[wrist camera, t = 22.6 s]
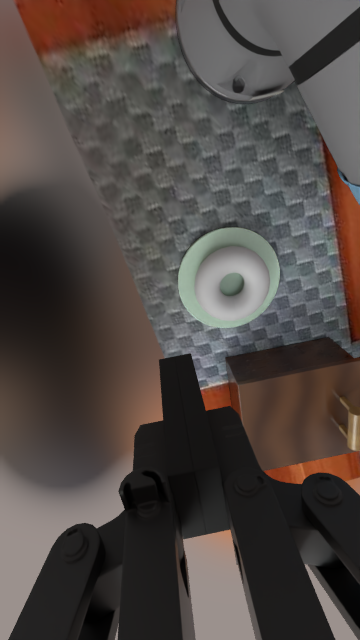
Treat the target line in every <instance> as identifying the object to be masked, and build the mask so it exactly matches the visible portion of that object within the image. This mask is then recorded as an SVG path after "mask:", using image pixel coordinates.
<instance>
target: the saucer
mask: <svg viewBox="0 0 360 640" xmlns="http://www.w3.org/2000/svg"><path fill="white" fill-rule="evenodd" d="M229 246H238V247H245V248H248V249H250V250H252V251H255V252H256V253H257V254H258V255H259V256H260V257H261V258H262V259H263V260H264V262H265V264H266V266H267V268H268V270H269V275H270V287H269V292H268V295H267V297H266V299H265V300H264V302H263V304H262V305H261V306H260V307H259V308H258V309H257V310H256V311H255V312H254V313H252V314H251V315H249V316H247V317H246V318H243V319H239V320H235V321H225V320H220V319H217V318H214V317H212V316H211V315H209V314H208V313H207V312H206V311H204V310H203V309H202V307H201V306H200V304H199V302H198V301H197V298H196V294H195V290H194V286H195V276H196V274H197V271H198V269H199V267H200V265H201V264H202V262H203V261H204V260H205V259H206V258H207V257H208V256H209V255H210V254H212V253H213V252H215V251H217V250H218V249H221V248H225V247H229ZM279 279H280V268H279V262H278V259H277V256H276V254H275V252H274V250H273V248H272V247H271V245H270V244H269V243H268V242H267V241H266V240H265V239H264V238H263V237H262V236H260V235H259V234H257V233H255V232H253V231H251V230H248V229H245V228H240V227H224V228H219V229H215V230H213V231H210V232H208V233H206V234H205V235H203V236H201V237H200V238H199V239H198V240H196V241H195V242H194V243H193V244H192V245H191V246H190V248H189V249H188V250H187V252H186V253H185V255H184V257H183V259H182V261H181V264H180V267H179V271H178V291H179V294H180V298H181V300H182V302H183V304H184V306H185V308H186V309H187V310H188V312H189V313H190V314H191V315H192V316H193V317H194V318H196V319H197V320H199V321H200V322H202V323H204V324H206V325H209V326H212V327H217V328H232V327H237V326H241V325H244V324H246V323H248V322H250V321H252V320H254V319H255V318H257V317H258V316H259V315H260V314H261V313H263V312H264V311H265V310H266V308H267V307H268V306H269V305H270V303H271V302H272V300H273V298H274V296H275V294H276V291H277V289H278V285H279ZM243 286H244V279H243V277H242V276H241V275H240V274H239V273H229V274H227V275H226V276H225V277H224V278H223V279H222V281H221V283H220V290H221V292H222V293H223V294H224V295H226V296H234V295H236V294H238V293H239V292H240V291H241V290H242V288H243Z"/></svg>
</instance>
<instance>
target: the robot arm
mask: <svg viewBox="0 0 360 640" xmlns="http://www.w3.org/2000/svg"><path fill="white" fill-rule="evenodd" d="M176 28H177V35H178V40H179V44H180V47H181V51H182V53H183V56H184V59H185V61H186V63H187V65H188V67H189V68H190V70H191V72H192V73H193V75H194V76H195V78H196V79H197V80H198V81H199V82H200V84H201V85H202V86H203V87H204V88H206V89H207V90H208V91H209V92H211V93H212V94H213V95H215V96H217V97H218V98H221V99H223V100H225V101H228V102H232V103H237V104H252V103H257V102H261V101H264V100H267V99H269V98H271V97H273V96H275V95H276V94H280V93H282V92H283V91H282V90H284V89H285V88H286V87H288V86H289V85H290V84H291V83H292V82H293V81H294V80H295V81H296V83H297V87H298V89H299V91H300V93H301V95H302V97H303V99H304V101H305V103H306V105H307V107H308V109H309V111H310V113H311V115H312V117H313V119H314V121H315V123H316V125H317V127H318V128H319V130H320V132H321V134H322V136H323V138H324V140H325V142H326V144H327V146H328V148H329V150H330V152H331V154H332V156H333V158H334V160H335V162H336V164H337V166H338V169H337V171H338V174H339V176H340V178H341V179H342V181H343V182H344V183H346V184H347V185H348V186H349V188H350V190H351V191H352V193H353V195H354V197H355V198H356V200H357V202H358V203H359V205H360V0H176ZM284 91H285V90H284ZM159 366H160V380H161V393H162V408H163V421H158V422H153V423H148V424H143V425H140V427H139V429H138V431H137V432H136V434H135V440H134V460H133V471H132V472H131V473H130V474H128V475H127V476H126V477H125V478H124V480H123V481H122V482H121V485H120V488H119V494H120V497H121V500H122V502H123V505H124V508H125V510H124V511H123V512H122V513H121V514H120V515H119V516H118V517H116V518H115V519H113V520H112V521H110V522H108V523H106V524H104V525H103V526H101V527H99V528H97V529H96V528H95V527H94V526H93V525H91V524H87V523H82V524H76V525H74V526H72V527H70V528H68V529H67V530H66V531H64V532H63V533H62V534H61V535H60V536H59V537H58V539H57V540H56V542H55V543H54V545H53V546H52V548H51V551H50V553H49V555H48V557H47V559H46V561H45V563H44V565H43V567H42V569H41V572H40V574H39V576H38V578H37V580H36V582H35V584H34V586H33V589H32V591H31V593H30V595H29V597H28V599H27V601H26V603H25V606H24V608H23V610H22V612H21V614H20V616H19V618H18V620H17V623H16V625H15V627H14V629H13V631H12V633H11V635H10V637H9V639H8V640H115V636H116V632H117V627H118V623H119V628H118V640H195V631H194V622H193V614H192V604H191V595H190V585H189V576H188V567H187V559H186V555H185V551H184V545H183V539H187V538H192V537H196V536H201V535H206V534H211V533H216V532H220V531H224V530H229V529H230V530H231V534H232V538H233V544H234V551H235V557H236V563H237V565H238V567H239V571H240V575H241V579H242V584H243V588H244V592H245V596H246V600H247V604H248V609H249V613H250V617H251V622H252V626H253V630H254V634H255V638H256V640H335V638H334V636H333V633H332V631H331V628H330V626H329V623H328V621H327V619H326V616H325V614H324V611H323V609H322V606H321V604H320V602H319V599H318V597H317V594H316V592H315V589H314V587H313V585H312V582H311V580H310V578H309V575H308V572H307V570H306V568H305V565H304V564H308V566H309V567H310V569H311V570H312V572H313V573H314V575H315V576H316V578H317V579H318V581H319V582H320V584H321V585H322V587H323V588H324V590H325V591H326V593H327V594H328V595H329V597H330V599H331V600H332V602H333V603H334V604H335V606H336V607H337V609H338V610H339V612H340V613H341V615H342V616H343V618H344V619H345V621H346V622H347V624H348V625H349V627H350V628H351V630H352V631H353V633H354V634H355V636H356V637H357V638H358V640H360V495H359V494H358V493H356V492H355V490H354V489H352V488H351V487H350V486H349V485H348V484H347V483H346V482H345V481H343V480H342V479H341V478H339V477H337V476H334V475H332V474H329V473H316V474H312V475H310V476H308V477H307V478H306V479H304V481H303V483H302V484H293V483H285V482H280V481H277V480H275V479H272V478H271V477H269V476H268V475H266V474H265V473H264V471H263V470H262V469H261V467H260V465H259V463H258V461H257V458H256V456H255V453H254V451H253V448H252V446H251V443H250V441H249V438H248V436H247V434H246V431H245V428H244V426H243V423H242V421H241V418H240V416H239V414H238V413H237V412H236V411H235V410H234V409H233V408H231V407H230V406H228V407H223V408H218V409H213V410H208V411H206V410H205V406H204V402H203V398H202V395H201V391H200V387H199V383H198V379H197V375H196V372H195V368H194V364H193V360H192V356H191V353H190V354H185V355H180V356H175V357H170V358H165V359H160V360H159Z"/></svg>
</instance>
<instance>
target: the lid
mask: <svg viewBox="0 0 360 640" xmlns="http://www.w3.org/2000/svg"><path fill="white" fill-rule="evenodd" d="M237 391H238V399H239V407H240V415H241V421H242V423H243V426H244V428H245V431H246V434H247V436H248V438H249V441H250V443H251V446H252V448H253V451H254V453H255V456H256V458H257V461H258V463H259V465H260V467H261V469H262V470H263V471H265V470H270V469H275V468H280V467H285V466H289V465H294V464H299V463H304V462H308V461H313V460H318V459H323V458H328V457H332V456H337V455H342V454H347V453H351V452H356V451H359V450H360V357H358V358H353V359H348V360H343V361H338V362H333V363H328V364H324V365H319V366H314V367H309V368H304V369H299V370H294V371H289V372H284V373H279V374H274V375H269V376H264V377H259V378H254V379H250V380H245V381H240V382H237Z"/></svg>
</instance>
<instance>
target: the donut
mask: <svg viewBox="0 0 360 640" xmlns="http://www.w3.org/2000/svg"><path fill="white" fill-rule="evenodd" d="M229 273H239V274H240V275H241V276H242V277H243V279H244V286H243V288H242V290H241V291H240V292H239V293H238V294H236V295H234V296H226V295H224V294H223V293H222V292H221V290H220V283H221V281H222V279H223V278H224V277H225V276H226V275H227V274H229ZM269 287H270V275H269V270H268V268H267V266H266V264H265V262H264V260H263V259H262V258H261V257H260V256H259V255H258V254H257V253H256V252H255V251H252V250H250V249H248V248H245V247H238V246H229V247H225V248H221V249H218V250H217V251H215V252H213V253H212V254H210V255H209V256H208V257H207V258H206V259H205V260H204V261H203V262H202V264H201V265H200V267H199V269H198V271H197V274H196V276H195V286H194V290H195V294H196V298H197V301H198V302H199V304H200V306H201V307H202V309H203V310H204V311H206V312H207V313H208V314H209V315H211V316H212V317H214V318H217V319H220V320H225V321H235V320H239V319H243V318H246V317H247V316H249V315H251V314H252V313H254V312H255V311H256V310H257V309H258V308H259V307H260V306H261V305H262V304H263V302H264V300H265V299H266V297H267V295H268V292H269Z"/></svg>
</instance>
